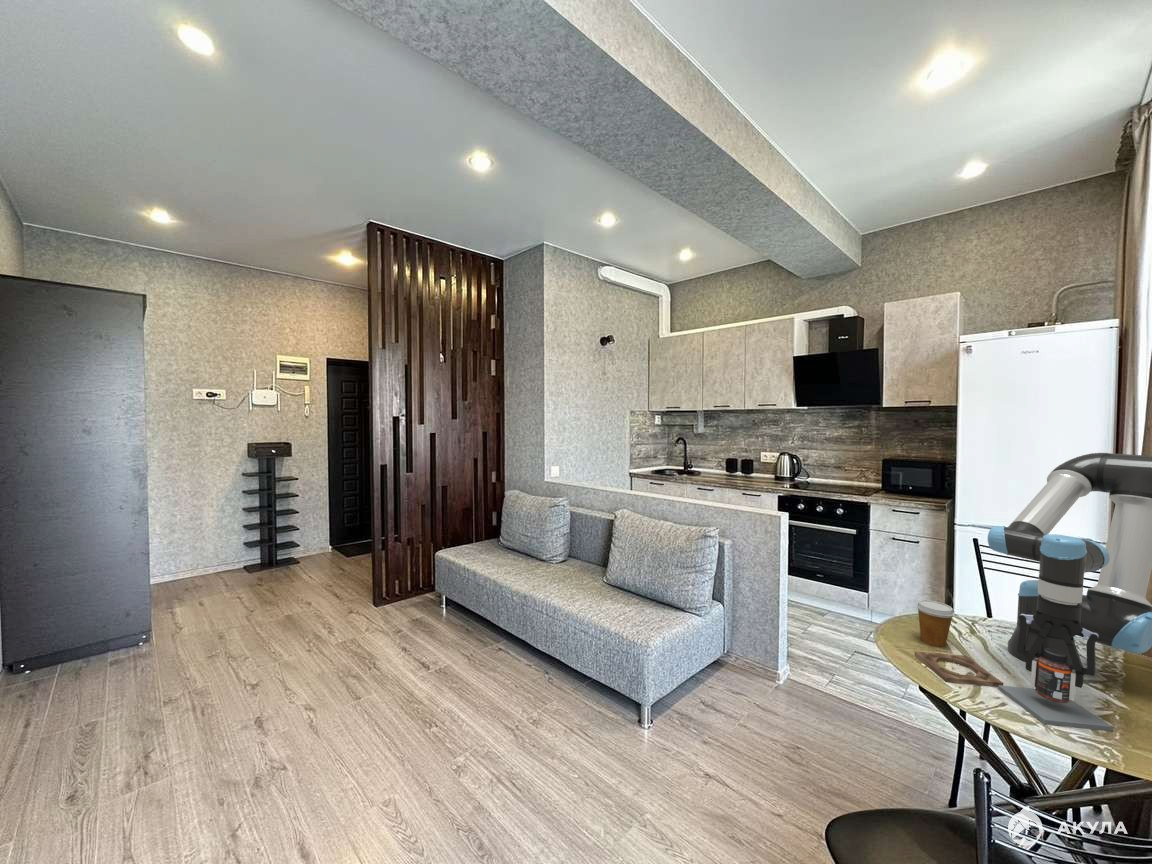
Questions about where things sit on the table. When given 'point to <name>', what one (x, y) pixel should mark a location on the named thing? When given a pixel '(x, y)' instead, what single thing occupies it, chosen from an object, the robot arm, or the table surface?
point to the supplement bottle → (1053, 676)
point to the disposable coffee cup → (934, 622)
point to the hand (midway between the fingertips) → (1052, 691)
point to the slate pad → (1054, 709)
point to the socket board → (950, 676)
